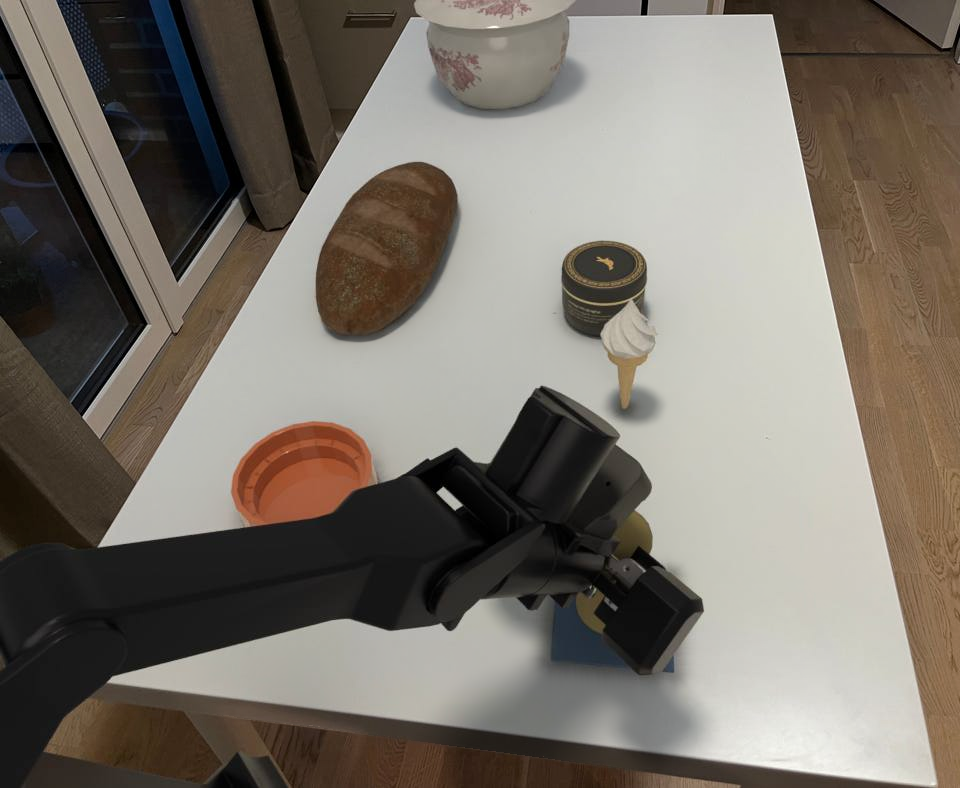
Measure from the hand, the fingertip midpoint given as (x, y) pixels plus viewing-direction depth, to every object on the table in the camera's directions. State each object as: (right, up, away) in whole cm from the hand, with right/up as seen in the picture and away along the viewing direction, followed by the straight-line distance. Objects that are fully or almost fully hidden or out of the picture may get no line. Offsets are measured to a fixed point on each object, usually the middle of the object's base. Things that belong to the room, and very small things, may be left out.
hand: (627, 553), depth 63 cm
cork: (-1, -5, +4) cm, 6 cm away
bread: (-24, +32, +47) cm, 61 cm away
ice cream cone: (+4, +11, +23) cm, 26 cm away
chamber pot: (-8, +67, +81) cm, 106 cm away
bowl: (-29, +2, +17) cm, 34 cm away
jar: (+3, +22, +35) cm, 41 cm away
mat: (0, -7, +6) cm, 9 cm away
